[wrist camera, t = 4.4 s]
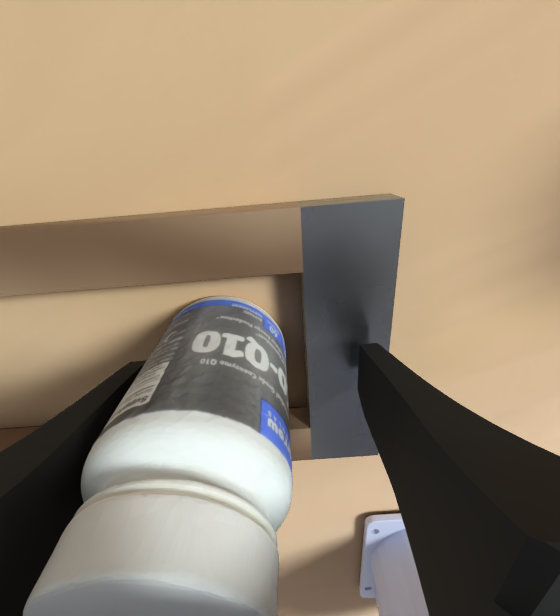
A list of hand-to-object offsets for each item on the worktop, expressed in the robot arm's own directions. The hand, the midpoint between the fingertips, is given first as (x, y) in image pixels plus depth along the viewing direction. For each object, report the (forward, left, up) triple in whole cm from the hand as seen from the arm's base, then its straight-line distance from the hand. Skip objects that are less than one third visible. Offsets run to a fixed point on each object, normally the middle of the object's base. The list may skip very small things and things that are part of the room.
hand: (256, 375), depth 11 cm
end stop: (0, -3, -2) cm, 4 cm away
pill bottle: (0, +1, -2) cm, 2 cm away
